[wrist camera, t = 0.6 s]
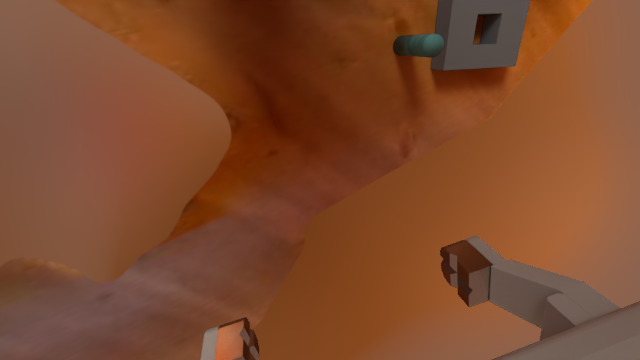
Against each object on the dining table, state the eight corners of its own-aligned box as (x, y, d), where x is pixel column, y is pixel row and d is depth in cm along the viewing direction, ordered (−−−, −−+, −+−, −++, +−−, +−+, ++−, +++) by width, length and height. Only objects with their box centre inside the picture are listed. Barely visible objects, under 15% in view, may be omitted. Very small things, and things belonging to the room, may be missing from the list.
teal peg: (393, 36, 49) (425, 34, 41) (410, 35, 50) (445, 33, 41) (392, 55, 51) (423, 57, 42) (408, 54, 51) (442, 56, 42)
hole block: (439, -10, 48) (454, -15, 44) (513, -11, 51) (533, -15, 47) (430, 68, 53) (443, 70, 49) (498, 65, 56) (515, 66, 52)
